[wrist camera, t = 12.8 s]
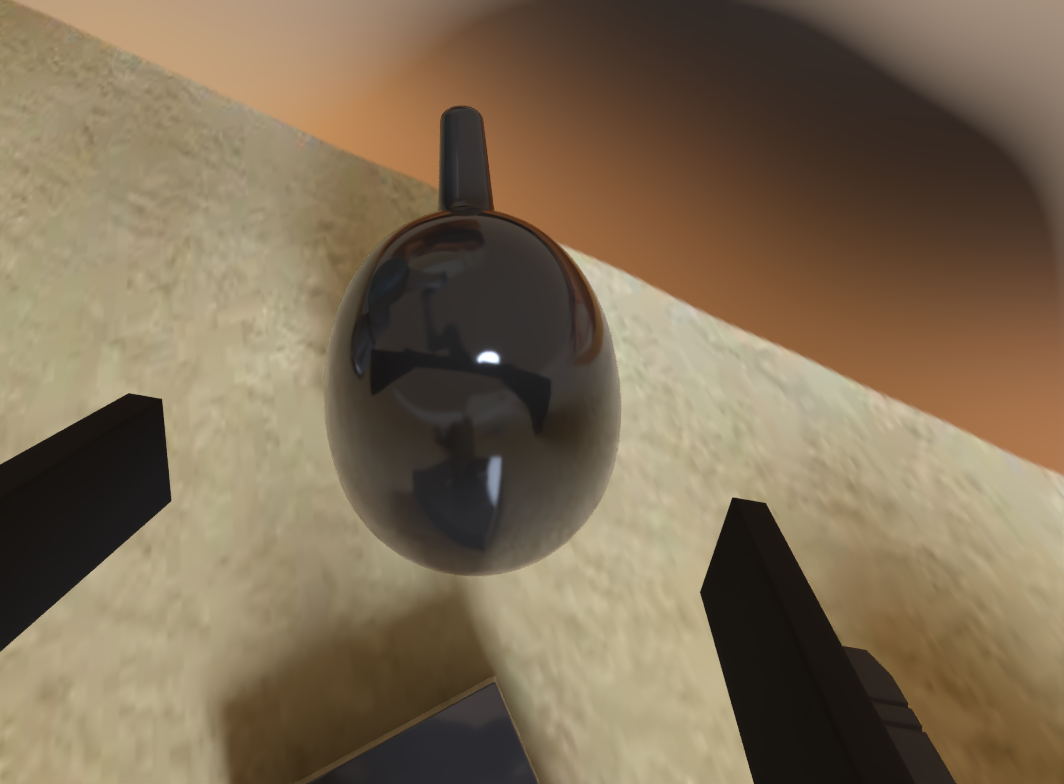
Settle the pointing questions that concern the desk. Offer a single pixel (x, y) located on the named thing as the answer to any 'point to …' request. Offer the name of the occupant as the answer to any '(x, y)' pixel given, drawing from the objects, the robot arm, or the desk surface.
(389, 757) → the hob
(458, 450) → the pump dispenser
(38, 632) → the desk surface
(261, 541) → the desk surface
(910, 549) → the desk surface
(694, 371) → the desk surface
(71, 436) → the robot arm
